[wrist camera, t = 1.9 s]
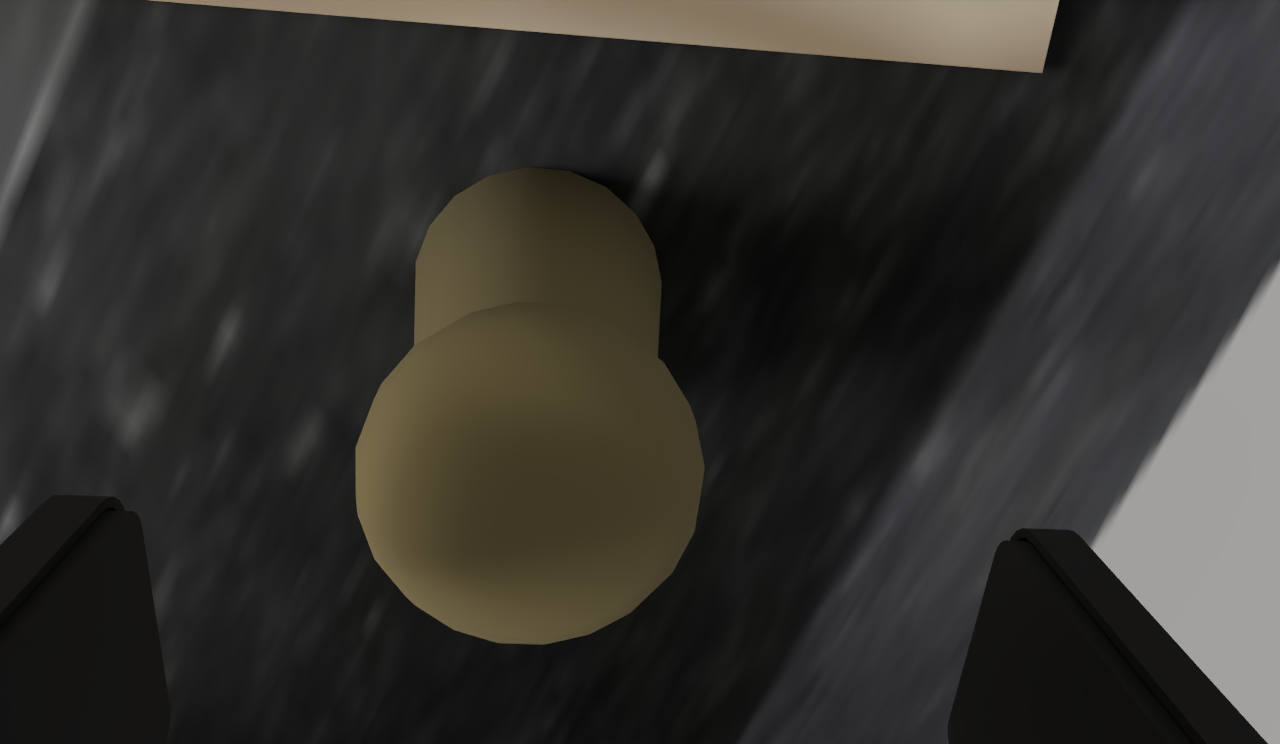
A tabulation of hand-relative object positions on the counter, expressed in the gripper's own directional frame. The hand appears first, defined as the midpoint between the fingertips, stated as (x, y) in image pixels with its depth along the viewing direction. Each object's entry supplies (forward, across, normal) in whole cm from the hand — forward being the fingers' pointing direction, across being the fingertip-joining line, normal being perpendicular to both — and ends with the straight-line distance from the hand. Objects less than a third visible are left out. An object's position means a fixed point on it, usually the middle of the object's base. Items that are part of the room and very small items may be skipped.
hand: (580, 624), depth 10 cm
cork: (+14, +1, +1) cm, 14 cm away
